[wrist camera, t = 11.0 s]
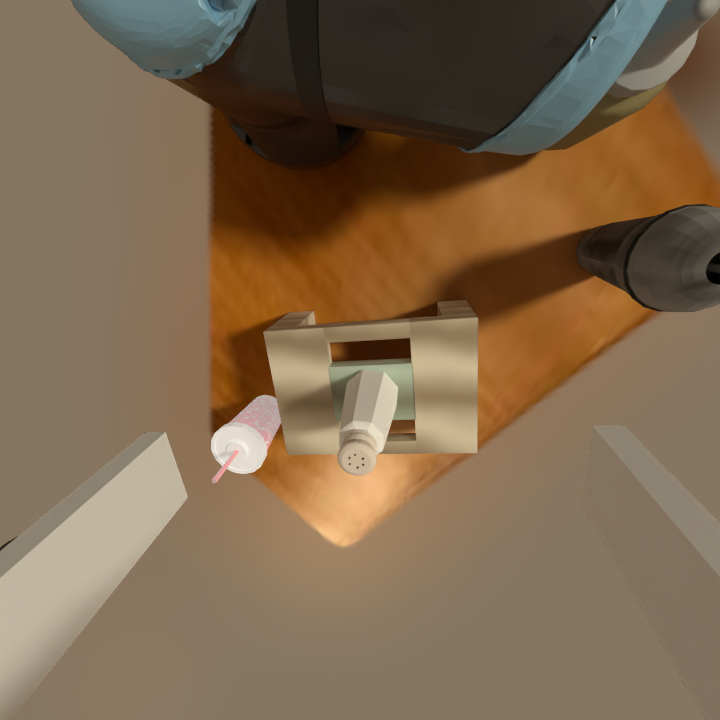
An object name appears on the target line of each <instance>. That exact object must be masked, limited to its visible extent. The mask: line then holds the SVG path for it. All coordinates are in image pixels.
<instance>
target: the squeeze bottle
mask: <svg viewBox="0 0 720 720" xmlns="http://www.w3.org/2000/svg"><path fill="white" fill-rule="evenodd" d="M719 8H720V0H667V2H666V4H665V6H664V8H663V10H662V11H661V13H660V15H659V16H658V18H657V20H656V22H655V23H654V25H653V26H652V28H651V30H650V31H649V33H648V35H647V36H646V38H645V39H644V41H643V42H642V44H641V45H640V47H639V49H638V50H637V51H636V53H635V54H634V56H633V57H632V59H631V60H630V62H629V63H628V65H627V66H626V67H625V69H624V70H623V71H622V73H621V74H620V76H619V77H618V78H617V80H616V81H615V82H614V84H613V85H612V86H611V87H610V89H609V90H608V91H607V92H606V94H605V95H604V96H603V98H602V99H601V100H600V101H599V102H598V103H597V105H596V106H595V107H594V108H593V109H592V110H591V112H590V113H589V114H588V115H587V116H586V117H585V118H584V119H583V120H582V121H581V122H580V123H579V124H578V125H577V126H576V127H575V128H574V129H573V130H572V131H571V132H569V133H568V134H567V135H566V136H565V137H563V138H562V139H560V140H559V141H558V142H556V143H555V144H553V145H552V146H550V147H548V148H546V149H544V150H560V149H567V148H569V147H571V146H573V145H575V144H577V143H579V142H581V141H583V140H585V139H587V138H589V137H591V136H593V135H594V134H596V133H598V132H600V131H602V130H604V129H605V128H607V127H609V126H611V125H613V124H615V123H616V122H618V121H620V120H622V119H624V118H626V117H627V116H629V115H631V114H633V113H635V112H637V111H638V110H640V109H642V108H644V107H645V106H646V105H647V104H648V103H649V102H650V101H651V100H652V99H653V98H654V97H655V96H656V95H657V94H658V93H659V92H660V91H661V90H663V88H664V86H665V85H666V83H667V81H668V79H669V78H670V77H671V76H672V75H674V73H675V72H677V71H678V70H679V69H680V68H681V67H682V66H683V64H684V63H685V61H686V59H687V58H688V56H689V54H690V52H691V51H692V49H693V47H694V46H695V42H696V38H697V34H698V30H699V28H700V27H702V26H703V25H704V24H705V23H706V22H707V21H708V20H709V19H710V18H711V17H712V16H713V15H714V14H715V13H717V11H718V9H719Z"/></svg>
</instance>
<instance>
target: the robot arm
mask: <svg viewBox="0 0 720 720" xmlns="http://www.w3.org/2000/svg"><path fill="white" fill-rule="evenodd" d="M71 1H72V3H73V5H74V7H75V8H76V10H77V11H78V12H79V14H80V15H81V16H82V17H83V18H84V20H85V21H87V23H89V24H90V26H91V27H92V28H93V29H94V30H95V31H96V32H98V33H99V34H100V35H101V36H102V37H103V38H104V39H106V40H107V41H108V42H110V43H111V44H113V45H114V46H115V47H117V48H118V49H119V50H121V51H122V52H123V53H124V54H126V55H127V56H128V57H129V58H130V60H131V61H133V62H134V63H136V64H137V65H138V66H139V67H140V68H141V69H143V70H144V71H147V72H150V73H152V74H153V75H155V76H157V77H160V78H164V79H167V80H169V81H171V82H172V83H174V84H176V85H178V86H179V87H181V88H183V89H185V90H186V91H188V92H190V93H192V94H193V95H195V96H197V97H198V98H200V99H202V100H204V101H205V102H207V103H209V104H210V105H212V106H214V107H216V108H217V109H219V110H221V111H223V113H224V115H225V117H226V119H227V121H228V123H229V124H230V126H231V127H232V129H233V130H234V132H235V133H236V134H237V136H238V137H239V138H240V139H241V140H242V141H243V142H244V143H245V144H246V145H247V146H248V147H249V148H250V149H251V150H252V151H254V152H255V153H257V154H258V155H259V156H261V157H263V158H265V159H266V160H268V161H271V162H273V163H275V164H277V165H280V166H283V167H286V168H290V169H297V170H308V169H315V168H320V167H323V166H326V165H328V164H330V163H333V162H334V161H336V160H338V159H339V158H341V157H342V156H344V155H345V154H346V153H347V152H348V151H349V150H351V149H352V148H353V146H354V145H355V144H356V143H357V142H358V141H359V139H360V138H361V136H362V135H363V134H364V132H365V130H371V131H377V132H382V133H387V134H393V135H398V136H403V137H409V138H414V139H419V140H425V141H430V142H435V143H441V144H446V145H451V146H457V147H458V148H459V149H460V150H461V151H463V152H467V153H473V152H476V153H479V152H482V151H488V152H496V153H503V154H511V155H526V154H531V153H536V152H538V151H541V150H544V149H546V148H548V147H550V146H552V145H553V144H555V143H556V142H558V141H559V140H560V139H562V138H563V137H565V136H566V135H567V134H568V133H569V132H571V131H572V130H573V129H574V128H575V127H576V126H577V125H578V124H579V123H580V122H581V121H582V120H583V119H584V118H585V117H586V116H587V115H588V114H589V113H590V112H591V110H592V109H593V108H594V107H595V106H596V105H597V103H598V102H599V101H600V100H601V99H602V98H603V96H604V95H605V94H606V92H607V91H608V90H609V89H610V87H611V86H612V85H613V84H614V82H615V81H616V80H617V78H618V77H619V76H620V74H621V73H622V71H623V70H624V69H625V67H626V66H627V65H628V63H629V62H630V60H631V59H632V57H633V56H634V54H635V53H636V51H637V50H638V49H639V47H640V45H641V44H642V42H643V41H644V39H645V38H646V36H647V35H648V33H649V31H650V30H651V28H652V26H653V25H654V23H655V22H656V20H657V18H658V16H659V15H660V13H661V11H662V10H663V8H664V6H665V4H666V2H667V0H71ZM187 498H188V496H187V493H186V490H185V488H184V485H183V482H182V479H181V476H180V473H179V470H178V468H177V464H176V462H175V459H174V456H173V453H172V450H171V447H170V444H169V441H168V438H167V435H166V433H165V432H154V433H153V432H149V433H144V434H143V435H141V436H140V437H139V438H138V439H137V440H135V441H134V442H133V443H132V444H131V445H129V446H128V447H127V448H126V449H124V450H123V451H122V452H121V453H119V454H118V455H117V456H116V457H115V458H113V459H112V460H111V461H110V462H109V463H107V464H106V465H105V466H104V467H102V468H101V469H100V470H99V471H97V472H96V473H95V474H94V475H93V476H91V477H90V478H89V479H88V480H86V481H85V482H84V483H83V484H82V485H80V486H79V487H78V488H77V489H76V490H74V491H73V492H72V493H71V494H69V495H68V496H67V497H66V498H64V499H63V500H62V501H61V502H60V503H58V504H57V505H56V506H55V507H53V508H52V509H51V510H50V511H49V512H47V513H46V514H45V515H44V516H42V517H41V518H40V519H39V520H37V521H36V522H35V523H34V524H33V525H31V526H30V527H29V528H28V529H27V530H25V531H24V532H23V533H22V534H20V535H19V536H17V537H16V538H14V539H12V540H11V541H9V542H7V543H6V544H4V545H3V546H2V547H1V548H0V720H12V718H13V717H14V716H15V714H16V713H17V712H18V710H19V709H20V708H21V707H22V706H23V704H24V703H25V702H26V701H27V699H28V698H29V697H30V695H31V694H32V693H33V692H34V691H35V689H36V688H37V687H38V686H39V684H40V683H41V681H42V680H43V679H44V678H45V677H46V675H47V674H48V673H49V672H50V670H51V669H52V668H53V667H54V665H55V664H56V663H57V662H58V660H59V659H60V658H61V657H62V655H63V654H64V653H65V652H66V650H67V649H68V648H69V646H70V645H71V644H72V643H73V641H74V640H75V639H76V638H77V636H78V635H79V634H80V632H81V631H82V630H83V629H84V628H85V626H86V625H87V624H88V623H89V621H90V620H91V619H92V618H93V616H94V615H95V614H96V612H97V611H98V610H99V609H100V607H101V606H102V605H103V604H104V602H105V601H106V600H107V598H108V597H109V596H110V595H111V594H112V592H113V591H114V590H115V589H116V587H117V586H118V585H119V583H120V582H121V581H122V580H123V579H124V577H125V576H126V575H127V573H128V572H129V571H130V570H131V568H132V567H133V566H134V564H135V563H136V562H137V561H138V560H139V558H140V557H141V556H142V554H143V553H144V552H145V551H146V550H147V548H148V547H149V546H150V545H151V543H152V542H153V541H154V539H155V538H156V537H157V536H158V534H159V533H160V532H161V531H162V529H163V528H164V527H165V526H166V524H167V523H168V522H169V521H170V519H171V518H172V517H173V516H174V514H175V513H176V512H177V511H178V509H179V508H180V507H181V505H182V504H183V503H184V502H185V500H186V499H187ZM581 505H582V506H583V508H584V510H585V511H586V513H587V515H588V517H589V519H590V520H591V522H592V524H593V526H594V527H595V529H596V531H597V532H598V534H599V536H600V538H601V540H602V541H603V543H604V545H605V546H606V548H607V550H608V552H609V554H610V555H611V557H612V559H613V560H614V562H615V564H616V566H617V567H618V569H619V571H620V573H621V574H622V576H623V578H624V580H625V581H626V583H627V585H628V587H629V588H630V590H631V592H632V594H633V595H634V597H635V599H636V600H637V602H638V604H639V606H640V608H641V609H642V611H643V613H644V614H645V616H646V618H647V620H648V621H649V623H650V625H651V627H652V628H653V630H654V632H655V634H656V635H657V637H658V639H659V641H660V642H661V644H662V646H663V648H664V649H665V651H666V653H667V654H668V656H669V658H670V660H671V662H672V663H673V665H674V667H675V669H676V670H677V672H678V674H679V675H680V677H681V679H682V681H683V682H684V684H685V686H686V687H687V689H688V691H689V693H690V694H691V696H692V698H693V700H694V702H695V703H696V705H697V707H698V709H699V710H700V712H701V714H702V716H703V717H704V719H705V720H720V523H719V522H718V521H717V520H716V519H715V518H714V517H713V516H712V515H711V514H710V513H709V512H708V511H707V510H706V509H705V508H704V507H703V506H702V505H701V504H700V503H699V501H698V500H697V499H696V498H695V497H694V496H693V495H692V494H691V493H690V492H689V491H688V490H687V489H686V488H685V487H684V486H683V485H682V484H681V483H680V482H679V481H678V480H677V479H676V478H675V477H674V476H673V475H672V474H671V473H670V472H669V471H668V470H667V469H666V468H665V467H664V466H663V465H662V464H661V463H660V462H659V461H658V460H657V459H656V458H655V457H654V456H653V455H652V454H651V453H650V452H649V451H648V450H647V449H646V448H645V447H644V446H643V445H642V444H641V443H640V442H639V441H638V440H637V439H636V438H635V437H634V436H633V435H632V434H631V433H630V431H629V430H628V429H626V428H625V426H624V425H609V426H593V427H592V434H591V441H590V448H589V455H588V461H587V468H586V476H585V482H584V489H583V496H582V502H581Z"/></svg>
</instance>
